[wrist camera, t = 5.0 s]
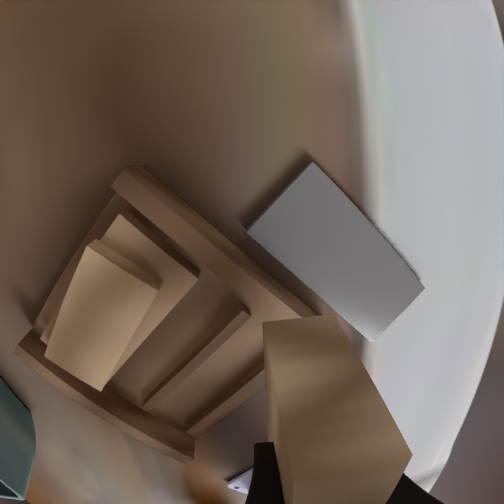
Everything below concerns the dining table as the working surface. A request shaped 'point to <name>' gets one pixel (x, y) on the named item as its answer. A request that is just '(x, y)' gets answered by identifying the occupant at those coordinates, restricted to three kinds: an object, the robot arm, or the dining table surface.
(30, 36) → the dining table surface
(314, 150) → the dining table surface
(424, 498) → the robot arm
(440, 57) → the dining table surface
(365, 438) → the tall block
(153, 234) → the offcut board lower
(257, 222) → the slate coaster
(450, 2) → the dining table surface
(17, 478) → the flower pot
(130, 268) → the offcut board upper
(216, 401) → the rack
